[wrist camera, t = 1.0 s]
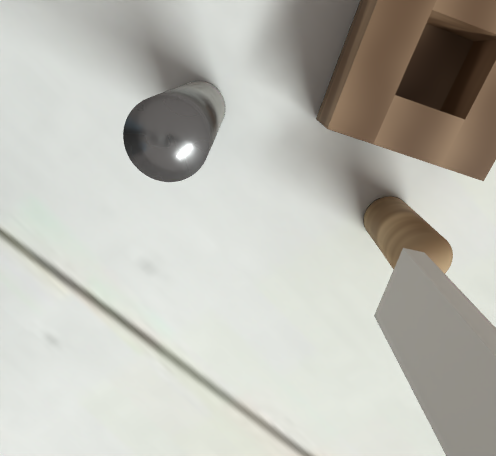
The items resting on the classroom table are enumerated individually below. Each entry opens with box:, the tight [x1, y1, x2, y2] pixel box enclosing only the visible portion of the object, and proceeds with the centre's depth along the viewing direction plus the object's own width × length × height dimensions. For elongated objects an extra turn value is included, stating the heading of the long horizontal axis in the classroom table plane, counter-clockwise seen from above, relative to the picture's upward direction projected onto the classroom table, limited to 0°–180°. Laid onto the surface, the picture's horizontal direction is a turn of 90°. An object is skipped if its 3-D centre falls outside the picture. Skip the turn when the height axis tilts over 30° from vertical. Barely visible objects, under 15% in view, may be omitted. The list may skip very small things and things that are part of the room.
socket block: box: [316, 0, 496, 181], centre depth 28 cm, size 12×12×5 cm
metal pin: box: [123, 81, 225, 182], centre depth 25 cm, size 4×4×14 cm
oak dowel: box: [364, 196, 453, 274], centre depth 32 cm, size 4×4×8 cm
